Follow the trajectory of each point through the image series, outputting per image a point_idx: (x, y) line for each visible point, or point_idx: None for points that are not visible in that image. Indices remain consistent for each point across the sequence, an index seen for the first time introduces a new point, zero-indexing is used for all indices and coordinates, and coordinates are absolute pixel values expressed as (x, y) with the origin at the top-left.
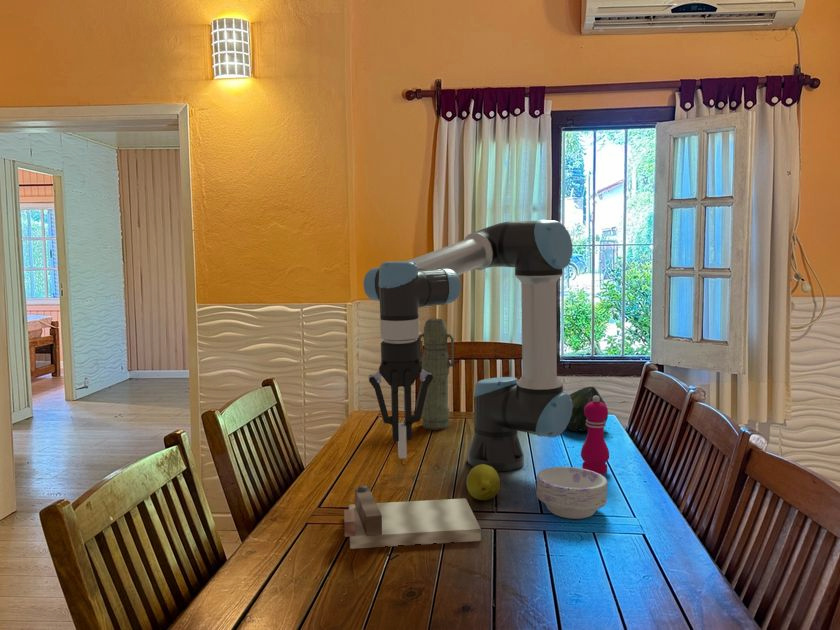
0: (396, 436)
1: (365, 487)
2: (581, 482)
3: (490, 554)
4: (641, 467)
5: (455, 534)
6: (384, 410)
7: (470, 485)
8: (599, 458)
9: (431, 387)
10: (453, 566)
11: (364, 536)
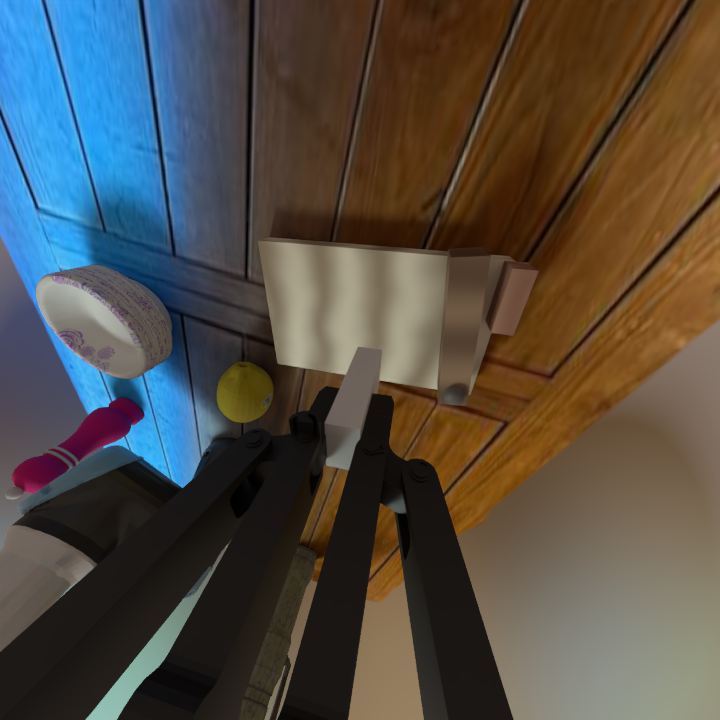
0: (377, 406)
1: (448, 394)
2: (103, 343)
3: (255, 175)
4: (82, 400)
5: (305, 242)
6: (431, 541)
7: (263, 384)
8: (101, 411)
9: (286, 611)
10: (326, 129)
11: None
